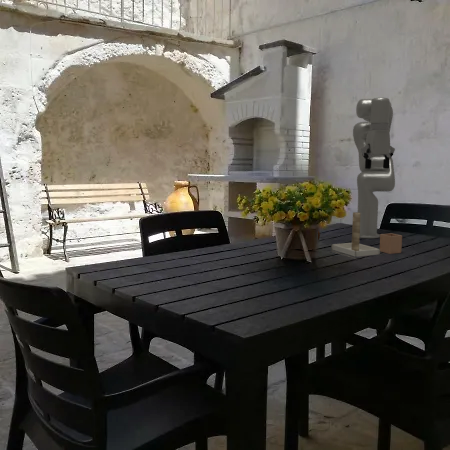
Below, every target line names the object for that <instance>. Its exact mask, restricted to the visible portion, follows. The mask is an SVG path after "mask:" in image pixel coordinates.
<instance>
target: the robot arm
mask: <svg viewBox="0 0 450 450" xmlns="http://www.w3.org/2000/svg"><path fill="white" fill-rule="evenodd" d="M355 111H356V116H357V118H359V119H363V120H364V121H360V122H357V123H356V124H354V126H353V128H352V136H353V142H354V144H355V146H356V149H357V151H358V165H359V166H358V167H359V170H360V173H358V175H357V176H356V186H357V212H359V213H361V216H360V239H380V234H379V233H378V217H379V215H378V214H379V199H378V197H377V196H376V195H375V192H380V193H381V192H384V193H385V192H392V191H394V188H395V187H396V177H395V176H396V175H395V167H394V160H393V157H392V156H393V155H394V153H395V151H396V148H395V147H393V146H392V145H391V135H390V133H391V132H390V131H391V127H392V121H393V118H394V109H393V107H392V102H391V101H390V99H389V98H388V97H374V98H361V99H359V100H358V101H357V103H356V107H355Z"/></svg>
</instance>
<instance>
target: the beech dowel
mask: <svg viewBox="0 0 450 450" xmlns="http://www.w3.org/2000/svg"><path fill="white" fill-rule="evenodd" d="M360 216H361V213H359V212H358V211H357V212H355V211H354V212H352V224H351V225H352V226H351V227H352V231H351V243H352V249H351V250H354V251H359V244H360V239H361V238H360Z"/></svg>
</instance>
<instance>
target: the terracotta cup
mask: <svg viewBox="0 0 450 450" xmlns="http://www.w3.org/2000/svg"><path fill="white" fill-rule="evenodd" d="M402 247H403V235H401V234H398V233H381V234H380V237H379V249H380V253H384V254H388V255H392V254H401V253H402Z"/></svg>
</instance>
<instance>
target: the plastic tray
mask: <svg viewBox="0 0 450 450" xmlns="http://www.w3.org/2000/svg"><path fill="white" fill-rule="evenodd" d="M351 249H352V242H346V243H345V242H343V243H333V244H331V253H334V254H338V255H341V256H345V257H347V258H350V259H352V260H353V259H354V260H359V258H357V257H367V256H375V255H377V256H378V255H381V251H380V248H378V247H377V248H376V247H373V246H370V245H366V244H362V243H359V251H354V250H351Z"/></svg>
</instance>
